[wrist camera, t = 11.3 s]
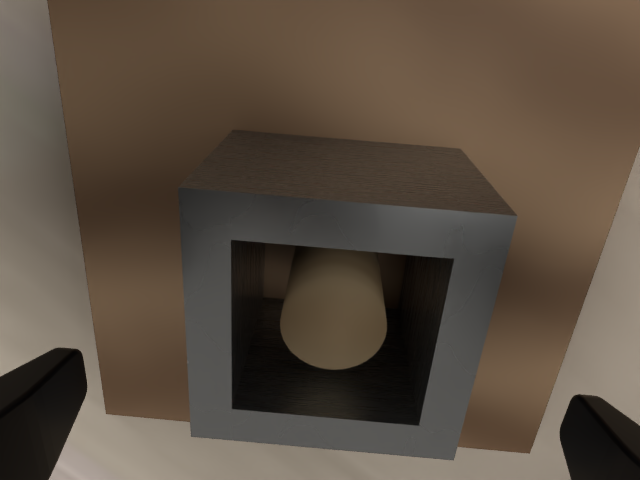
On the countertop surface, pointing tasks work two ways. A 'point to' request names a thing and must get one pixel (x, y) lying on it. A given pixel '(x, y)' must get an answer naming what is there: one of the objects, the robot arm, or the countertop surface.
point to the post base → (356, 124)
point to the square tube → (350, 234)
